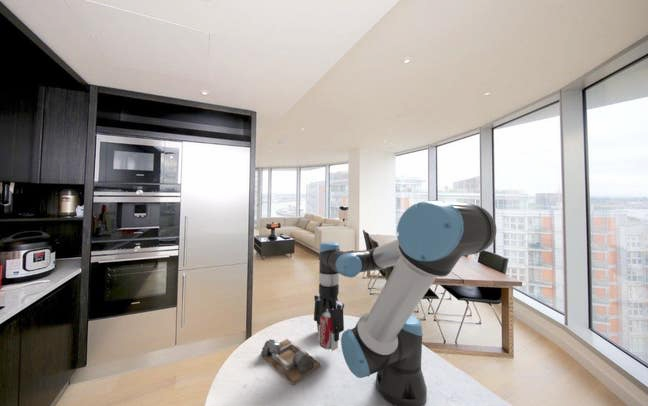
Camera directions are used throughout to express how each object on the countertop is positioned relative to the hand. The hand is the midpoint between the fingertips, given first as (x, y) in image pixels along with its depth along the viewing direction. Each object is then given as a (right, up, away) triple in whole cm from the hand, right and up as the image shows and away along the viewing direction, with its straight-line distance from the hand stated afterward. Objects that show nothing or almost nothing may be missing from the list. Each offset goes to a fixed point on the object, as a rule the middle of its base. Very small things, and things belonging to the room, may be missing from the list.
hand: (327, 344), depth 87 cm
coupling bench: (-14, -4, -3) cm, 15 cm away
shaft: (-21, -3, -1) cm, 21 cm away
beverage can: (0, -1, 0) cm, 1 cm away
